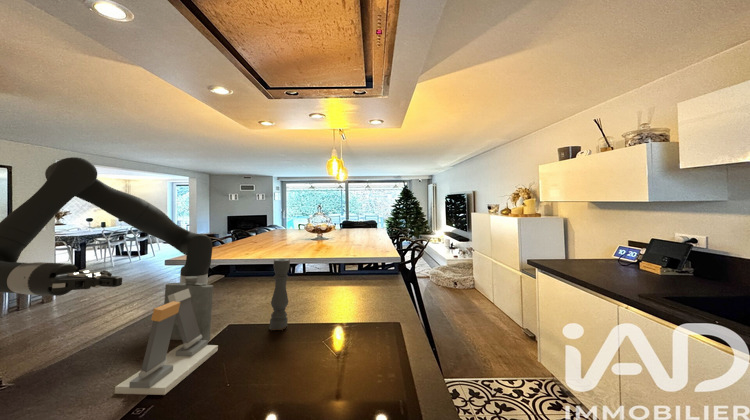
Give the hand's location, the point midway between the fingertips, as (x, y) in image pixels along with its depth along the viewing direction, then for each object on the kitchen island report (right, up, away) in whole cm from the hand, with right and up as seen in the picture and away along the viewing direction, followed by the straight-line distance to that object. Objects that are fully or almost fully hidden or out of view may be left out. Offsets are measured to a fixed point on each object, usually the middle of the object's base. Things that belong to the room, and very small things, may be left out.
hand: (119, 281), depth 68 cm
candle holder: (+26, -27, +37) cm, 52 cm away
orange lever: (+9, -20, -1) cm, 22 cm away
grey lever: (+9, -21, +14) cm, 26 cm away
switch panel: (+9, -24, +6) cm, 27 cm away
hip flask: (0, -25, +25) cm, 35 cm away
